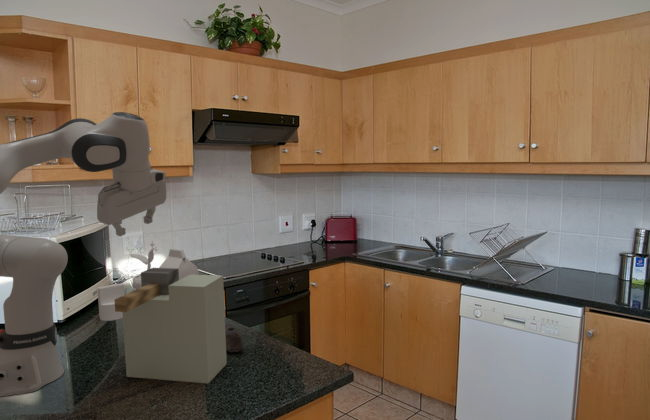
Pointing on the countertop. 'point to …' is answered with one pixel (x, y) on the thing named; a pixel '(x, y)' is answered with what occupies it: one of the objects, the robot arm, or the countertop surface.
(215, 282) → the block
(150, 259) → the potted plant
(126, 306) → the mallet
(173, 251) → the milk
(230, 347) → the perforated stone tool
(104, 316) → the cylinder with rectangular tab
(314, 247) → the countertop surface
